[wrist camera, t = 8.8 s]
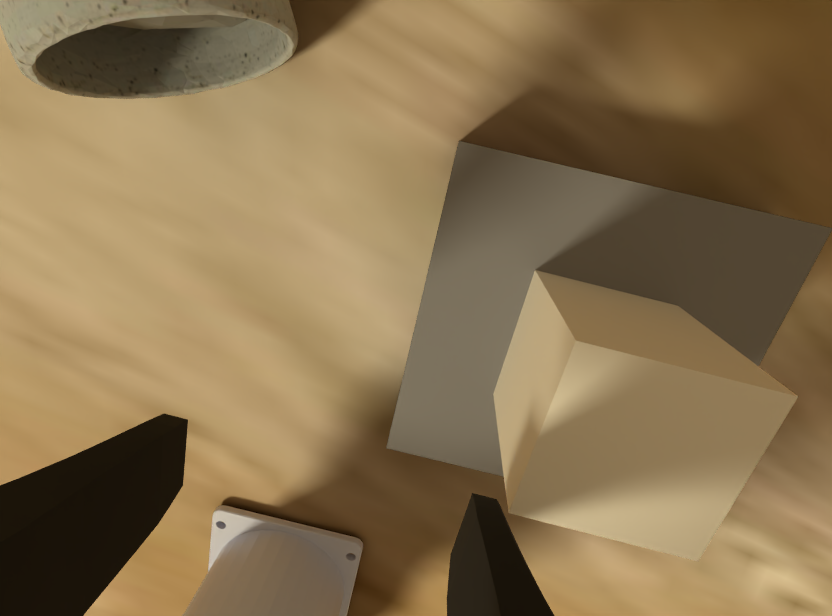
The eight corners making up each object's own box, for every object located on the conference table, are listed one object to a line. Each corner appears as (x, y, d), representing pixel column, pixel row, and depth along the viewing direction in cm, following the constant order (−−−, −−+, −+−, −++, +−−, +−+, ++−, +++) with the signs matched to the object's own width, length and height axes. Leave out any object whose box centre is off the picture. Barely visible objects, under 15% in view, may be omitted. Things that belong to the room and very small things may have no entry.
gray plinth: (647, 469, 21) (676, 518, 19) (396, 408, 22) (386, 448, 19) (772, 214, 17) (832, 228, 14) (459, 141, 17) (458, 140, 15)
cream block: (622, 426, 17) (698, 561, 12) (493, 393, 18) (508, 512, 12) (678, 305, 16) (798, 396, 10) (534, 269, 16) (575, 340, 10)
